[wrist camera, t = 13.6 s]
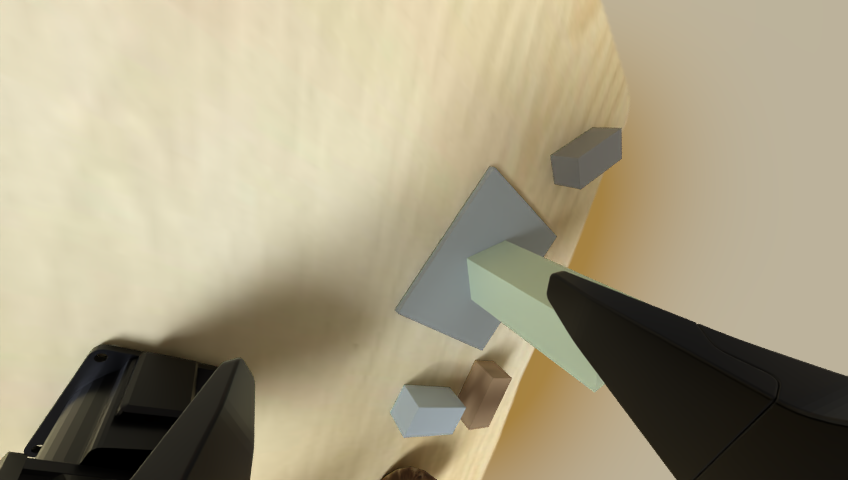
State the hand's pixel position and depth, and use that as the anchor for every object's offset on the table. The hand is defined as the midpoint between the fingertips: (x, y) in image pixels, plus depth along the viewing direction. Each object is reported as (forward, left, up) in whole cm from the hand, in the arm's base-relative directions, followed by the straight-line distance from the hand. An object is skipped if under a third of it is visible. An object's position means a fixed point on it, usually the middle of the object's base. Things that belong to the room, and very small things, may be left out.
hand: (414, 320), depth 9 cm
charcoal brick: (+17, -18, -13) cm, 28 cm away
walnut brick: (-8, -25, -13) cm, 29 cm away
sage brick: (+3, -16, -12) cm, 20 cm away
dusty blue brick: (-11, -19, -13) cm, 25 cm away
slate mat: (+3, -16, -13) cm, 21 cm away
